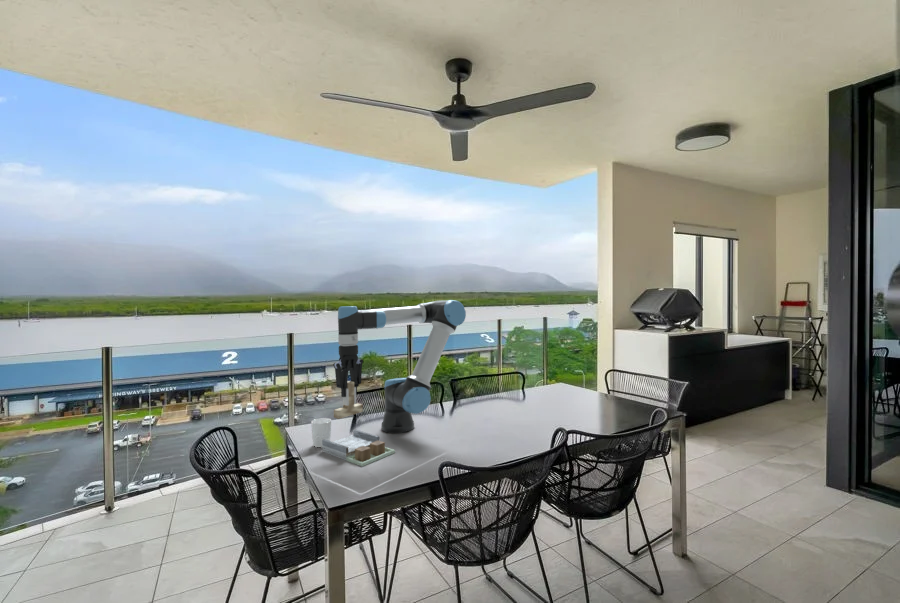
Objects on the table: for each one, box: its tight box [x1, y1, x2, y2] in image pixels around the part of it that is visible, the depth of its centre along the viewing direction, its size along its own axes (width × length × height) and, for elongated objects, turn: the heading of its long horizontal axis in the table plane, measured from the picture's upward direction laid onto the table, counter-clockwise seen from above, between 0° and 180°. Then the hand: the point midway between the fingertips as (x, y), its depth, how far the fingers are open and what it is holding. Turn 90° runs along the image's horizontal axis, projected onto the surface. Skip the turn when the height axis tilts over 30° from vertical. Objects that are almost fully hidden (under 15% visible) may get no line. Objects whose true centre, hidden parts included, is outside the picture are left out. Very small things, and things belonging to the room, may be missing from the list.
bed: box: [321, 429, 380, 461], centre depth 155 cm, size 16×15×5 cm
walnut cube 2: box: [370, 440, 386, 456], centre depth 151 cm, size 4×4×4 cm
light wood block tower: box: [333, 380, 364, 420], centre depth 156 cm, size 12×3×13 cm, turn 144°
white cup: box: [310, 417, 332, 448], centre depth 162 cm, size 8×8×10 cm
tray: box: [345, 446, 396, 467], centre depth 148 cm, size 16×9×2 cm, turn 142°
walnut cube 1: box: [355, 446, 371, 462], centre depth 145 cm, size 4×4×4 cm
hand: (349, 403), depth 156 cm, fingers closed on light wood block tower, 3 cm apart
